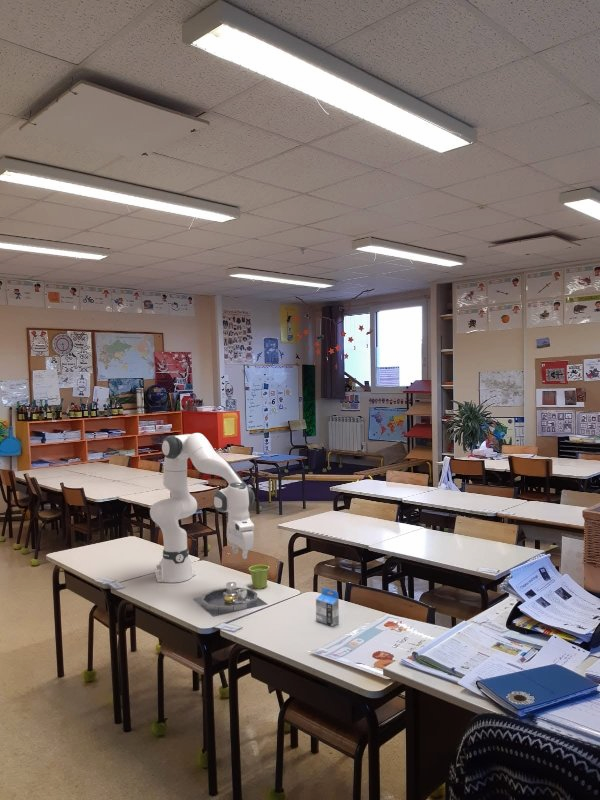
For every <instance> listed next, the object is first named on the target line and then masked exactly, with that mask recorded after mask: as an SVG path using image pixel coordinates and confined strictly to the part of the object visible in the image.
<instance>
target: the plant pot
mask: <svg viewBox="0 0 600 800" xmlns="http://www.w3.org/2000/svg"><path fill="white" fill-rule="evenodd" d="M269 569H270V566H269V565H266V564H265V565H264V564H256V565H251V566H250V567H248V571H249V573H250V577H251V583H252V587H253V588H255V589H257V590H258V589H263V588H266V587H267V586H268V585H267V584H268V572H269V571H270V570H269Z"/></svg>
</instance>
